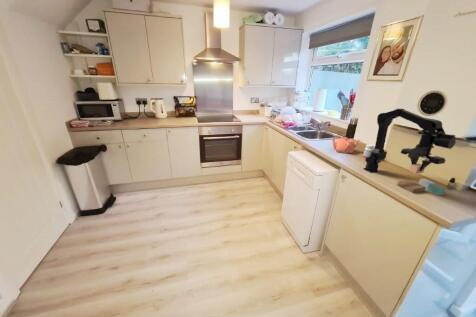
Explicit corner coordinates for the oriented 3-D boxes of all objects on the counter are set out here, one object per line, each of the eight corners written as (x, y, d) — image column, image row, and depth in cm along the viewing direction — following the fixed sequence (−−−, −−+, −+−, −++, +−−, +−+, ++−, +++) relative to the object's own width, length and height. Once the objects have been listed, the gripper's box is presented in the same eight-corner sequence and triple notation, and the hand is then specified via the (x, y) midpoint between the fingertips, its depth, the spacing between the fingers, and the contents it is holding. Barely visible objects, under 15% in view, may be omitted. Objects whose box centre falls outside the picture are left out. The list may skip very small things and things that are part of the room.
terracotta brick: (415, 173, 112) (417, 166, 111) (409, 171, 115) (411, 164, 114) (423, 172, 114) (425, 166, 112) (416, 170, 117) (418, 163, 116)
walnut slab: (396, 186, 120) (398, 181, 119) (407, 184, 123) (409, 180, 122) (412, 193, 112) (413, 188, 111) (424, 191, 114) (425, 187, 113)
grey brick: (417, 185, 122) (420, 179, 120) (422, 184, 122) (424, 178, 121) (429, 189, 116) (431, 183, 115) (433, 189, 117) (435, 183, 116)
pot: (339, 147, 191) (342, 134, 187) (358, 152, 178) (361, 138, 173) (327, 150, 182) (330, 136, 177) (346, 155, 168) (349, 141, 164)
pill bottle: (368, 157, 166) (371, 144, 162) (372, 160, 160) (376, 146, 156) (360, 157, 166) (364, 144, 162) (365, 159, 160) (368, 146, 156)
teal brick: (426, 190, 116) (429, 184, 114) (430, 189, 117) (433, 183, 115) (438, 195, 110) (441, 189, 109) (443, 194, 111) (446, 188, 110)
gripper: (397, 139, 115) (390, 165, 120) (436, 149, 98) (425, 178, 104) (411, 138, 118) (403, 163, 123) (451, 148, 101) (439, 176, 107)
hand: (416, 169), depth 114 cm, fingers closed on terracotta brick, 3 cm apart
